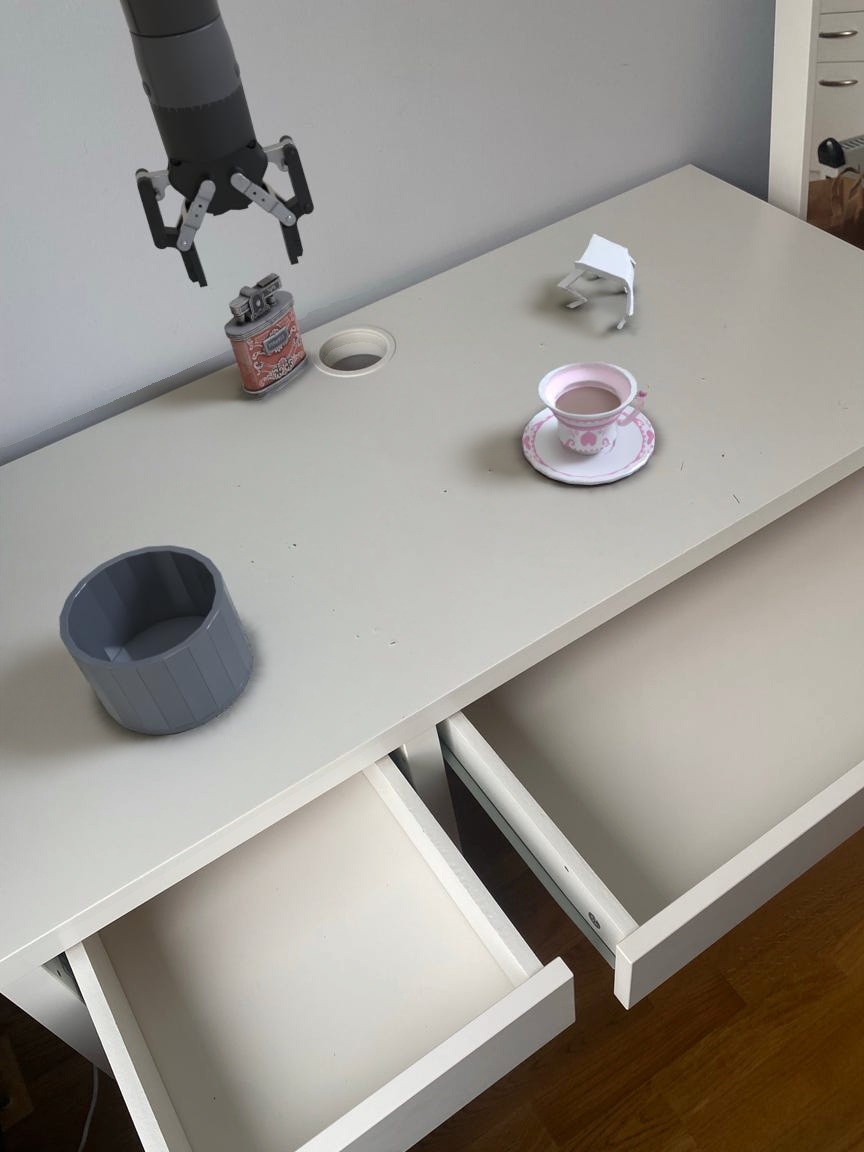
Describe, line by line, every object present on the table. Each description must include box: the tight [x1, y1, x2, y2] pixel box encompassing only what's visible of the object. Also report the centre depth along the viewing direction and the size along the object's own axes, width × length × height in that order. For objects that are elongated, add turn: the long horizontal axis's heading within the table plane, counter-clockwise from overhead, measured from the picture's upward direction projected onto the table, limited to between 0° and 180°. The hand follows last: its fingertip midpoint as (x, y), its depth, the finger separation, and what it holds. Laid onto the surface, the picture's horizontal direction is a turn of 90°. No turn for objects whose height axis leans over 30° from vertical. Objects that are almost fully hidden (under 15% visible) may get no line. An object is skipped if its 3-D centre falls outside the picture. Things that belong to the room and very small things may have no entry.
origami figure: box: [556, 233, 637, 330], centre depth 100 cm, size 12×8×5 cm
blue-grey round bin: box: [58, 544, 253, 736], centre depth 72 cm, size 12×12×8 cm
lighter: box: [223, 272, 310, 401], centre depth 95 cm, size 8×3×10 cm, turn 143°
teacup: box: [521, 361, 656, 486], centre depth 86 cm, size 12×12×6 cm
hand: (248, 271), depth 90 cm, fingers open, 8 cm apart
